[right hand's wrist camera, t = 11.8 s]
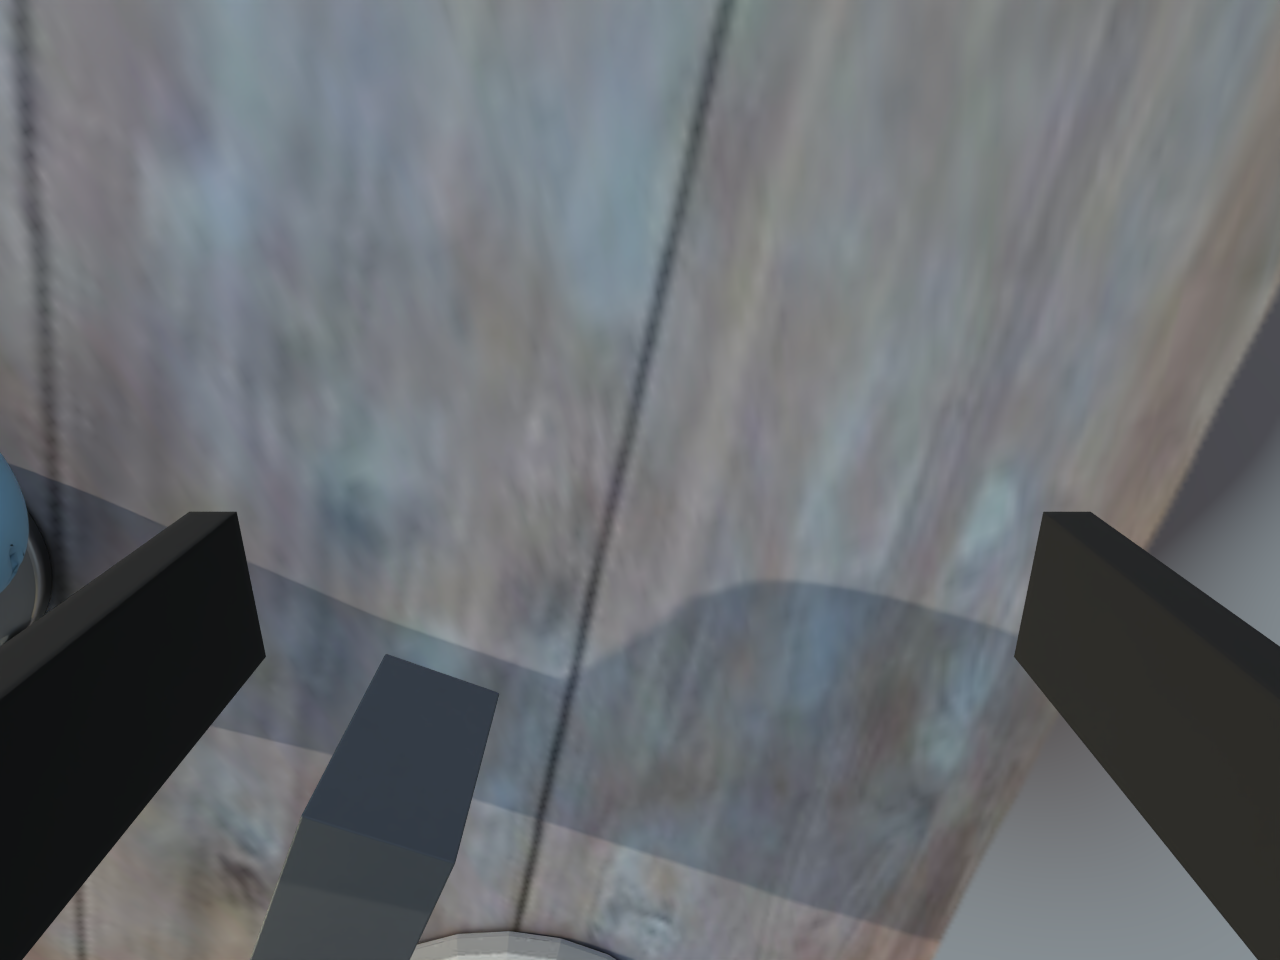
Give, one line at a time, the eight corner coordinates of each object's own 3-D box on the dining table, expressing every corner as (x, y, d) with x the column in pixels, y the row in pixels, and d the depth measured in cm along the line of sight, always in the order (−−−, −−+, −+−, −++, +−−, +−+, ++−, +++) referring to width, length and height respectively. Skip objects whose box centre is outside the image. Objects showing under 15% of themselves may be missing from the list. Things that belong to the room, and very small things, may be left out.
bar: (385, 653, 33) (301, 815, 24) (499, 692, 33) (455, 863, 25) (257, 996, 40) (160, 1208, 32) (352, 1021, 41) (281, 1235, 33)
